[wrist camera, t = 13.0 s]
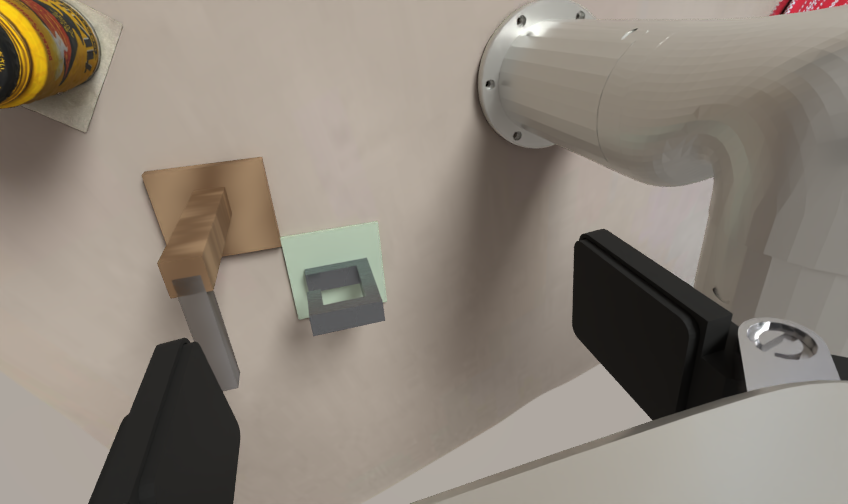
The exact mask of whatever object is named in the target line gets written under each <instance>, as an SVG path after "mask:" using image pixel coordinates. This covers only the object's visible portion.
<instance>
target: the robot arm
mask: <svg viewBox="0 0 848 504" xmlns="http://www.w3.org/2000/svg"><path fill="white" fill-rule="evenodd" d="M576 15H577V18H576ZM517 18H518V19H519V23H518V24H517ZM487 81H488V82H489V84H488V86H485V85H486V82H487ZM478 93H479V100H480V104H481V107H482V110H483V113H484V115H485V117H486V119H487V121H488V123H489V124H490V126H491V127H492V128H493V129H494V130H495V131H496V133H497V134H499V135H500V136H501V137H503V138H504V139H505V140H507V141H509V142H511V143H513V144H515V145H518V146H521V147H524V148H534V149H539V148H546V147H550V146H553V145H556V144H557V145H559V146H561V147H563V148H565V149H568V150H570V151H572V152H574V153H576V154H578V155H581V156H583V157H585V158H587V159H589V160H592V161H594V162H596V163H598V164H600V165H603V166H605V167H607V168H609V169H611V170H613V171H616V172H618V173H620V174H622V175H624V176H627V177H629V178H632V179H634V180H636V181H639V182H642V183H645V184H648V185H653V186H659V187H676V186H684V185H689V184H693V183H697V182H700V181H703V180H707V179H709V178H712V177H714V184H713V191H712V196H711V201H710V206H709V217H708V221H707V226H706V230H705V235H704V240H703V244H702V249H701V253H700V258H699V262H698V267H697V272H696V276H695V283H694V288H693V287H692V286H690V285H689V284H687V283H686V282H684V281H683V280H681V279H680V278H678V277H677V276H675V275H674V274H672V273H671V272H669V271H668V270H666V269H665V268H663V267H662V266H660V265H659V264H657V263H656V262H654V261H653V260H651V259H650V258H648V257H647V256H645V255H644V254H642V253H641V252H639V251H638V250H636V249H635V248H633V247H632V246H630V245H629V244H627V243H626V242H624V241H623V240H621V239H620V238H618V237H617V236H615V235H614V234H612V233H611V232H609V231H608V230H605V229H600V230H596V231H592V232H589V233H585V234H582V235H581V236H580V238H579V241H577V242H576V243H575V246H574V275H573V313H572V326H573V330H574V333H575V335H576V336H577V338H578V339H579V340H580V341H581V342H582V343H583V344H584V345H585V346H586V348H587V349H588V350H589V351H590V352H591V353H592V354H593V355H594V356H595V357H596V359H597V360H598V361H599V362H600V363H601V364H602V365H603V366H604V367H605V369H606V370H607V371H608V372H609V373H610V374H611V375H612V376H613V377H614V378H615V380H616V381H617V382H618V383H619V384H620V385H621V386H622V387H623V388H624V389H625V391H626V392H627V393H628V394H629V395H630V396H631V397H632V398H633V399H634V400H635V402H636V403H637V404H638V405H639V406H640V407H641V408H642V409H643V410H644V411H645V412H646V414H647V415H648V416H649V417H650V418H651V419H652V420H653V421H650V422H648V423H645V424H641V425H638V426H635V427H632V428H630V429H627V430H624V431H621V432H618V433H615V434H612V435H609V436H606V437H603V438H600V439H597V440H594V441H591V442H588V443H585V444H582V445H579V446H576V447H573V448H570V449H567V450H564V451H561V452H559V453H555V454H553V455H550V456H547V457H544V458H541V459H538V460H535V461H532V462H529V463H526V464H523V465H521V466H518V467H515V468H512V469H509V470H506V471H503V472H500V473H497V474H494V475H491V476H488V477H485V478H483V479H480V480H477V481H474V482H471V483H468V484H465V485H462V486H460V487H457V488H454V489H451V490H448V491H445V492H442V493H439V494H436V495H433V496H431V497H428V498H425V499H422V500H419V501H416V502H413V503H410V504H848V4H847V5H841V6H835V7H829V8H824V9H818V10H812V11H806V12H798V13H790V14H782V15H774V16H766V17H752V18H736V19H681V20H668V19H596V18H595V17H594V16H593V15H592V13H591V12H590V11H589V10H588V9H586V8H585V7H583V6H581V5H580V4H578V3H576V2H573V1H570V0H537V1H534V2H531V3H528V4H526V5H524V6H522V7H520V8H519V9H517V10H515V11H514V12H513V13H512V14H510V15H509V16H508V17H507V18H506V19H504V21H503V22H502V23H501V24H500V25H499V27H498V28H497V29H496V30H495V32H494V33H493V35H492V37H491V38H490V40H489V42H488V44H487V46H486V48H485V51H484V54H483V56H482V59H481V64H480V68H479V73H478ZM514 133H515V135H514V136H513V134H514ZM239 446H240V429H239V425H238V423H237V420H236V418H235V416H234V414H233V412H232V410H231V408H230V406H229V404H228V402H227V400H226V398H225V396H224V394H223V391H222V389H221V387H220V385H219V383H218V381H217V379H216V377H215V375H214V373H213V371H212V369H211V367H210V365H209V363H208V361H207V358H206V356H205V354H204V352H203V350H202V348H201V346H200V345H199V343H198V342H192V343H190V341H189V340H188V339H187V338H182V339H178V340H174V341H170V342H166V343H163V344H159V345H157V346H156V348H155V350H154V353H153V355H152V358H151V360H150V363H149V365H148V368H147V370H146V373H145V375H144V378H143V380H142V383H141V385H140V388H139V390H138V393H137V395H136V398H135V400H134V403H133V405H132V408H131V410H130V413H129V414H128V415H127V416H126V417H124V419H123V421H122V423H121V425H120V427H119V430H118V432H117V434H116V437H115V439H114V442H113V444H112V447H111V449H110V452H109V454H108V456H107V459H106V461H105V464H104V466H103V469H102V471H101V474H100V476H99V479H98V481H97V483H96V486H95V489H94V491H93V493H92V496H91V498H90V501H89V503H88V504H233V500H234V491H235V482H236V473H237V464H238V455H239Z"/></svg>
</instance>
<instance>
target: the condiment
mask: <svg viewBox="0 0 848 504" xmlns="http://www.w3.org/2000/svg"><path fill="white" fill-rule="evenodd" d="M122 25H123V24H121V23H119V22H117V21H115V20H113V19H111V18H109V17H107V16H105V15H104V14H102V13H100V12H98V11H96V10H94V9H92V8H90V7H88V6H86V5H85V4H83V3H81V2H79V1H77V0H0V109H3V108H12V107H16V106H22V107H25V108H27V109H29V110H32V111H34V112H38V113H40V114H42V115H44V116H46V117H49V118H51V119H53V120H56V121H59V122H61V123H64V124H66V125H68V126H70V127H73V128H75V129H78V130H80V131H83V132H85V133H86V132H87V129H88V125H89V122H90V120H91V117H92V114H93V110H94V107H95V105H96V102H97V99H98V96H99V93H100V91H101V87H102V85H103V82H104V79H105V77H106V74H107V71H108V68H109V65H110V62H111V59H112V56H113V53H114V50H115V47H116V44H117V41H118V39H119V36H120V32H121V29H122ZM67 90H68V91H67ZM65 91H67V92H65ZM60 92H63V94H61V95H59V94H57V93H60Z"/></svg>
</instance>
